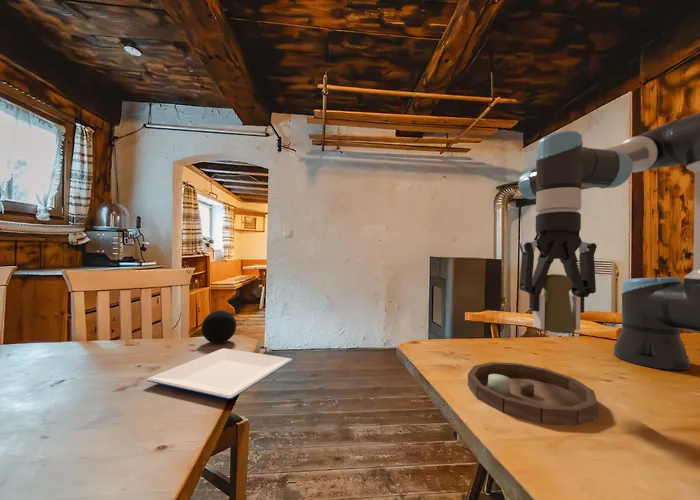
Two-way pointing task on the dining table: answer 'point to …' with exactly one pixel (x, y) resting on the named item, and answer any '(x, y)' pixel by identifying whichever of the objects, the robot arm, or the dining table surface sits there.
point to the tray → (535, 394)
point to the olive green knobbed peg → (558, 304)
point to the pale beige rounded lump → (499, 384)
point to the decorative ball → (218, 326)
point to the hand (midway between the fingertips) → (556, 327)
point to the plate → (221, 372)
